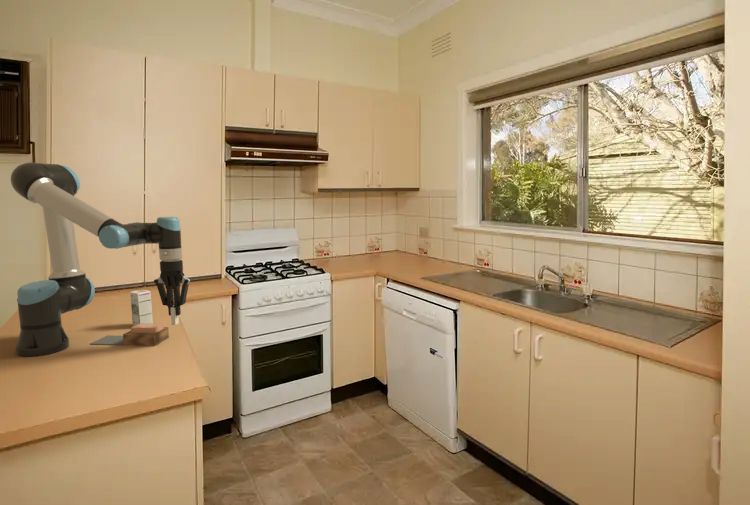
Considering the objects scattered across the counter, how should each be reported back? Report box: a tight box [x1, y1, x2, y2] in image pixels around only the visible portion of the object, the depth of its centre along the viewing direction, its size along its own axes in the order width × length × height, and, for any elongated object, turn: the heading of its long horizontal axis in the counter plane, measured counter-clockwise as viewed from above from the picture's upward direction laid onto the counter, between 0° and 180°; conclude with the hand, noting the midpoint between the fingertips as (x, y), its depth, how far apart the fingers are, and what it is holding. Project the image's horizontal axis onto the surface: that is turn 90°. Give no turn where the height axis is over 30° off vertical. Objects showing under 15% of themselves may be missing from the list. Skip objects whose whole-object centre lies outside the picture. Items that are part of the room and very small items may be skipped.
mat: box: [89, 334, 125, 346], centre depth 173 cm, size 13×10×1 cm
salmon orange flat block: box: [130, 322, 165, 333], centre depth 171 cm, size 9×6×2 cm, turn 86°
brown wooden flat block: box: [122, 326, 170, 347], centre depth 172 cm, size 12×10×4 cm
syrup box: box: [129, 289, 154, 327], centre depth 192 cm, size 6×6×14 cm
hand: (175, 323), depth 170 cm, fingers closed
